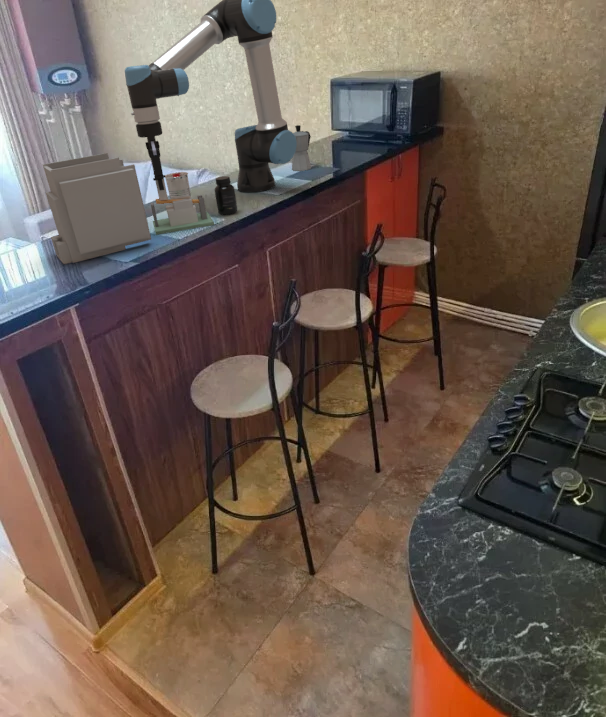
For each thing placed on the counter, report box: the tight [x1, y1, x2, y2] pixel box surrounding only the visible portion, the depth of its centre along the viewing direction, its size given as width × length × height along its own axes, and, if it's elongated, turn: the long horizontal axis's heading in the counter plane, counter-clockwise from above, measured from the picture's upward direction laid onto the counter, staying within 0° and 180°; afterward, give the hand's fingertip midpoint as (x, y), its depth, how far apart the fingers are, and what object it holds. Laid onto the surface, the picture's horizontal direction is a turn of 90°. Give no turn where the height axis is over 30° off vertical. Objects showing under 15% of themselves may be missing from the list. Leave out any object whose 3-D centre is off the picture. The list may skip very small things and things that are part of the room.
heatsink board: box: [149, 194, 215, 236], centre depth 190 cm, size 19×14×8 cm
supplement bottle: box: [214, 175, 238, 216], centre depth 197 cm, size 7×7×12 cm
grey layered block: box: [42, 152, 152, 265], centre depth 170 cm, size 17×27×26 cm, turn 122°
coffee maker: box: [291, 124, 312, 172], centre depth 248 cm, size 15×9×18 cm, turn 148°
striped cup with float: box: [164, 171, 192, 199], centre depth 208 cm, size 10×8×12 cm
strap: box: [155, 197, 201, 205], centre depth 188 cm, size 15×4×2 cm, turn 107°
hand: (163, 199), depth 187 cm, fingers closed
